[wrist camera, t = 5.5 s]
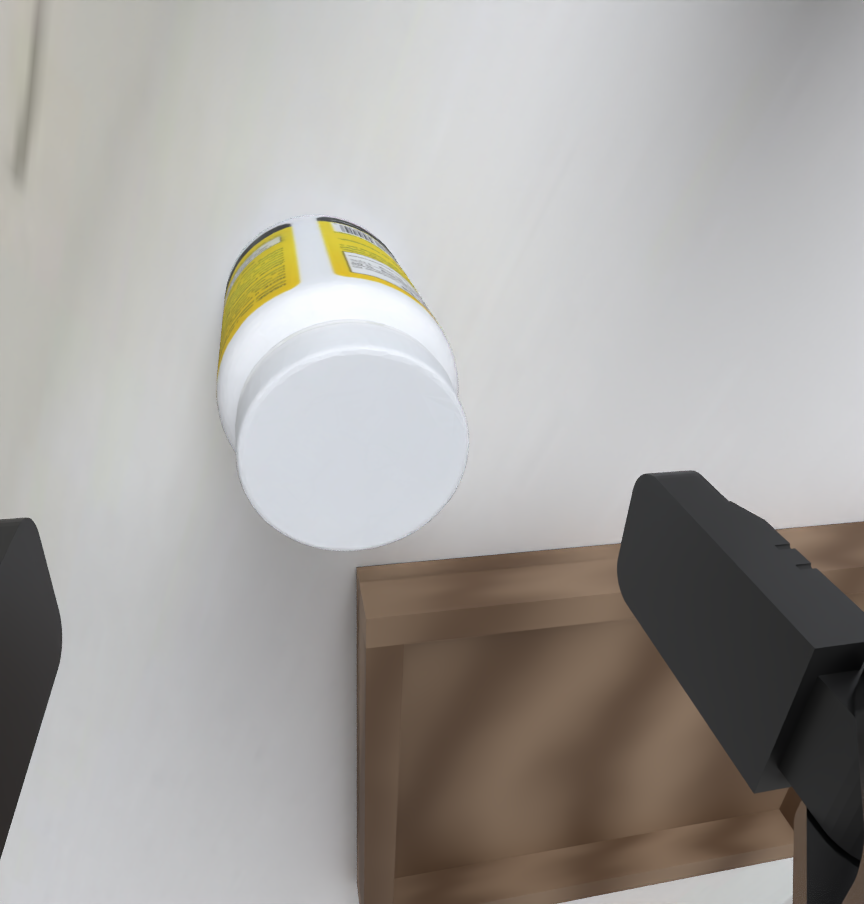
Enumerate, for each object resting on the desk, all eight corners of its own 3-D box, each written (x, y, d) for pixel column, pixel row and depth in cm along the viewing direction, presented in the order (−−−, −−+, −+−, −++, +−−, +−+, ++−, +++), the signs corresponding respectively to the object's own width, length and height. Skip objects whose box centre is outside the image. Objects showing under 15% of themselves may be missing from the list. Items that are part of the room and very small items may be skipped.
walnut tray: (915, 516, 28) (969, 555, 26) (783, 806, 37) (815, 852, 35) (356, 567, 24) (365, 618, 22) (356, 882, 33) (363, 941, 30)
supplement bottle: (245, 395, 20) (238, 592, 13) (207, 223, 18) (172, 348, 11) (413, 370, 21) (495, 544, 14) (398, 201, 18) (488, 304, 11)
